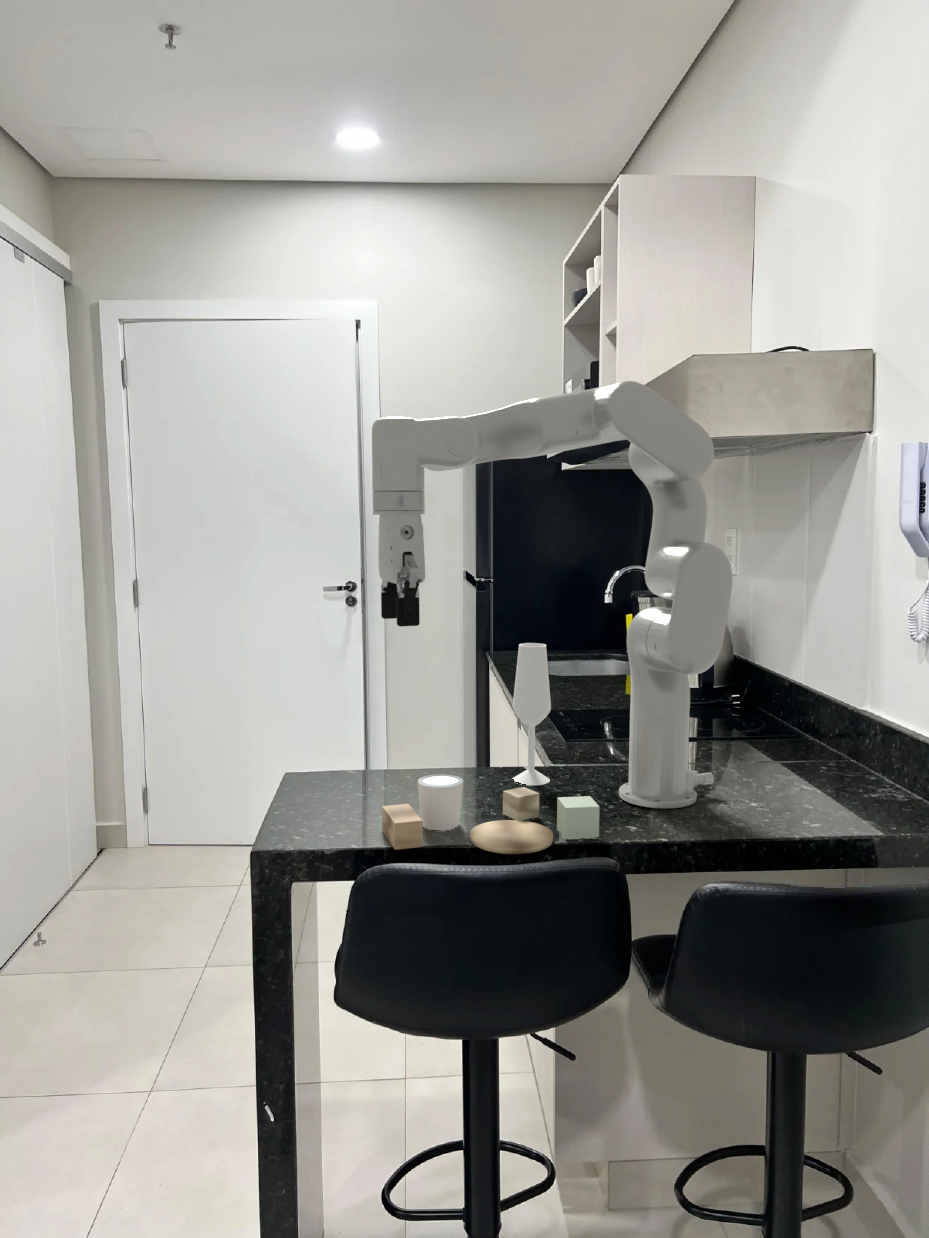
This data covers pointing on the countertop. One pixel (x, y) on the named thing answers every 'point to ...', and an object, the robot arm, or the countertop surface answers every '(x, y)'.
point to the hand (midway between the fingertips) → (399, 621)
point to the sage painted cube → (577, 817)
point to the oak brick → (402, 826)
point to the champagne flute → (531, 701)
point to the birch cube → (521, 803)
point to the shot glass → (440, 801)
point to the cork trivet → (511, 837)
